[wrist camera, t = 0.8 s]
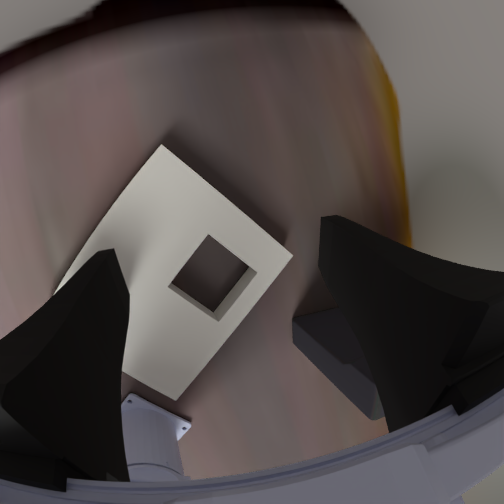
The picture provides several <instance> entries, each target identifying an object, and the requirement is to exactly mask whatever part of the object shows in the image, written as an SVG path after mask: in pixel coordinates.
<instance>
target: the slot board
mask: <svg viewBox="0 0 504 504" xmlns="http://www.w3.org/2000/svg"><path fill="white" fill-rule="evenodd" d="M208 234H209V235H210V236H212V237H213V238H214V239H215V240H217V241H218V242H219V243H220V244H222V245H223V246H224V247H225V248H227V249H228V250H229V251H230V252H232V253H233V254H234V255H235V256H237V257H238V258H239V259H241V260H242V261H243V262H244V263H246V264H247V265H248V266H249V268H248V269H247V270H246V272H245V273H244V274H243V275H242V277H241V278H240V279H239V281H238V282H237V283H236V284H235V286H234V287H233V288H232V289H231V291H230V292H229V293H228V295H227V296H226V297H225V298H224V300H223V301H222V302H221V303H220V305H219V306H218V307H217V309H216V310H215V311H214V312H212V311H211V310H209V309H208V308H206V307H205V306H203V305H202V304H200V303H199V302H198V301H196V300H195V299H193V298H192V297H190V296H189V295H188V294H186V293H185V292H183V291H182V290H181V289H179V288H178V287H176V286H175V285H174V284H172V283H171V282H172V280H173V279H174V278H175V276H176V275H177V274H178V272H179V271H180V270H181V268H182V267H183V266H184V265H185V263H186V262H187V261H188V259H189V258H190V257H191V255H192V254H193V253H194V252H195V250H196V249H197V248H198V246H199V245H200V244H201V243H202V241H203V240H204V239H205V238H206V236H207V235H208ZM112 248H114V249H115V253H116V256H117V259H118V262H119V265H120V268H121V271H122V273H123V276H124V279H125V282H126V285H127V288H128V290H129V293H130V315H129V325H128V331H127V338H126V344H125V351H124V358H123V365H122V371H123V372H125V373H126V374H128V375H130V376H132V377H133V378H135V379H137V380H138V381H140V382H142V383H144V384H146V385H147V386H149V387H151V388H153V389H155V390H156V391H158V392H160V393H162V394H164V395H166V396H168V397H170V398H171V399H173V400H175V401H176V400H177V399H178V398H179V397H180V395H181V394H182V393H183V392H184V391H185V390H186V388H187V387H188V386H189V385H190V384H191V382H192V381H193V380H194V379H195V378H196V376H197V375H198V374H199V373H200V372H201V370H202V369H203V368H204V367H205V366H206V364H207V363H208V362H209V361H210V359H211V358H212V357H213V356H214V355H215V353H216V352H217V351H218V350H219V349H220V347H221V346H222V345H223V344H224V342H225V341H226V340H227V339H228V337H229V336H230V335H231V334H232V333H233V331H234V330H235V329H236V328H237V326H238V325H239V324H240V323H241V321H242V320H243V319H244V318H245V316H246V315H247V314H248V313H249V311H250V310H251V309H252V308H253V306H254V305H255V304H256V303H257V301H258V300H259V299H260V297H261V296H262V295H263V294H264V292H265V291H266V290H267V289H268V287H269V286H270V285H271V283H272V282H273V281H274V280H275V278H276V277H277V276H278V275H279V273H280V272H281V271H282V269H283V268H284V267H285V265H286V264H287V263H288V262H289V260H290V259H291V258H292V256H293V255H292V254H291V253H290V252H289V251H287V250H286V249H285V248H284V247H283V246H282V245H280V244H279V243H278V242H277V241H276V240H275V239H274V238H272V237H271V236H270V235H269V234H268V233H267V232H265V231H264V230H263V229H262V228H261V227H260V226H258V225H257V224H256V223H255V222H254V221H253V220H251V219H250V218H249V217H248V216H247V215H246V214H244V213H243V212H242V211H241V210H240V209H238V208H237V207H236V206H235V205H234V204H233V203H231V202H230V201H229V200H228V199H227V198H225V197H224V196H223V195H222V194H221V193H220V192H218V191H217V190H216V189H215V188H214V187H212V186H211V185H210V184H209V183H208V182H206V181H205V180H204V179H203V178H202V177H200V176H199V175H198V174H197V173H196V172H194V171H193V170H192V169H191V168H190V167H188V166H187V165H186V164H185V163H184V162H182V161H181V160H180V159H179V158H178V157H176V156H175V155H174V154H173V153H171V152H170V151H169V150H168V149H167V148H165V147H164V146H163V145H162V144H161V145H160V147H159V148H158V149H157V150H156V151H155V152H154V154H153V155H152V156H151V157H150V158H149V160H148V161H147V162H146V163H145V164H144V166H143V167H142V168H141V169H140V171H139V172H138V173H137V174H136V175H135V177H134V178H133V179H132V181H131V182H130V183H129V184H128V186H127V187H126V188H125V190H124V191H123V192H122V193H121V195H120V196H119V197H118V199H117V200H116V201H115V203H114V204H113V205H112V207H111V208H110V209H109V211H108V212H107V214H106V215H105V216H104V218H103V219H102V221H101V222H100V223H99V225H98V226H97V228H96V229H95V231H94V232H93V233H92V235H91V236H90V238H89V239H88V241H87V242H86V244H85V245H84V247H83V248H82V250H81V251H80V253H79V254H78V256H77V257H76V259H75V261H74V262H73V264H72V265H71V267H70V268H69V270H68V272H67V273H66V275H65V277H64V278H63V280H62V281H61V283H60V285H59V286H58V288H57V290H56V292H57V291H58V290H59V289H60V288H61V287H62V286H63V285H64V284H65V283H66V282H67V281H68V280H69V279H70V278H71V277H72V276H73V275H74V274H75V273H76V272H77V271H78V270H79V269H80V268H81V267H82V266H83V264H84V263H85V262H86V261H87V260H88V259H90V258H91V257H92V256H93V255H94V254H95V253H96V252H98V251H101V250H107V249H112ZM56 292H55V293H56ZM55 293H54V294H55Z"/></svg>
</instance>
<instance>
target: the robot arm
mask: <svg viewBox="0 0 504 504" xmlns="http://www.w3.org/2000/svg"><path fill="white" fill-rule="evenodd" d="M318 266H319V268H320V271H321V273H322V276H323V278H324V281H325V283H326V285H327V287H328V289H329V291H330V293H331V294H332V296H333V298H334V300H335V301H336V303H337V305H338V306H339V308H340V310H341V311H342V313H343V315H344V316H345V318H346V320H347V322H348V323H349V325H350V327H351V328H352V330H353V332H354V334H355V336H356V338H357V340H358V342H359V344H360V346H361V349H362V351H363V353H364V356H365V358H366V361H367V363H368V366H369V368H370V371H371V374H372V376H373V379H374V382H375V385H376V388H377V391H378V394H379V397H380V400H381V404H382V407H383V410H384V414H385V418H386V422H387V426H388V430H389V433H388V434H386V435H383V436H381V437H378V438H376V439H373V440H370V441H367V442H365V443H362V444H359V445H356V446H353V447H350V448H347V449H344V450H341V451H337V452H334V453H331V454H327V455H324V456H320V457H317V458H313V459H309V460H306V461H302V462H298V463H293V464H289V465H285V466H280V467H276V468H271V469H266V470H261V471H255V472H249V473H243V474H237V475H230V476H223V477H215V478H206V479H195V480H191V478H190V477H189V476H184V471H183V466H182V461H181V456H180V451H179V446H178V440H179V439H180V438H181V437H182V436H183V435H184V434H185V433H186V432H187V431H188V430H189V428H190V427H191V423H190V422H189V421H187V420H185V419H183V418H181V417H179V416H176V415H174V414H172V413H170V412H168V411H166V410H164V409H162V408H160V407H158V406H156V405H154V404H152V403H151V402H149V401H147V400H145V399H143V398H141V397H139V396H137V395H136V394H133V393H130V394H129V395H128V396H127V397H126V398H125V400H124V401H123V402H122V404H121V374H122V365H123V358H124V351H125V344H126V338H127V331H128V325H129V315H130V293H129V290H128V288H127V285H126V282H125V279H124V276H123V273H122V271H121V268H120V265H119V262H118V259H117V256H116V253H115V249H114V248H112V249H107V250H101V251H98V252H96V253H95V254H94V255H93V256H92V257H91V258H90V259H88V260H87V261H86V262H85V263H84V264H83V266H82V267H81V268H80V269H79V270H78V271H77V272H76V273H75V274H74V275H73V276H72V277H71V278H70V279H69V280H68V281H67V282H66V283H65V284H64V285H63V286H62V287H61V288H60V289H59V290H58V291H57V292H56V293H55V294H54V295H53V296H52V297H51V298H50V299H49V300H48V301H47V302H46V303H45V304H44V305H43V306H42V307H41V308H40V309H39V310H37V311H36V312H35V313H34V314H33V315H32V316H30V317H29V318H28V319H27V320H26V321H25V322H23V323H22V324H21V325H19V326H18V327H17V328H15V329H14V330H13V331H11V332H10V333H9V334H7V335H6V336H5V337H3V338H2V339H1V340H0V504H465V503H464V501H463V499H462V496H461V495H462V494H463V493H465V492H466V491H468V490H469V489H471V488H472V487H473V486H475V485H476V484H478V483H479V482H480V481H482V480H483V479H485V478H486V477H487V476H489V475H490V474H491V473H492V472H494V471H495V470H496V469H497V468H499V467H500V466H501V465H503V464H504V272H499V271H491V270H485V269H480V268H475V267H470V266H466V265H461V264H457V263H453V262H450V261H447V260H442V259H439V258H437V257H433V256H431V255H428V254H425V253H422V252H419V251H416V250H414V249H412V248H409V247H407V246H404V245H402V244H400V243H398V242H395V241H393V240H391V239H389V238H386V237H384V236H382V235H380V234H378V233H376V232H374V231H372V230H370V229H368V228H366V227H364V226H362V225H359V224H357V223H355V222H353V221H351V220H349V219H346V218H344V217H341V216H338V215H333V216H326V217H321V227H320V245H319V261H318ZM128 400H131V402H130V401H128ZM183 427H186V428H183Z"/></svg>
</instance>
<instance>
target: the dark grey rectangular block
mask: <svg viewBox="0 0 504 504" xmlns="http://www.w3.org/2000/svg"><path fill="white" fill-rule="evenodd" d="M292 326H293V343H294V344H295V345H296V346H297V348H298V349H299V350H300V351H301V352H302V353H303V354H304V355H305V356H306V357H307V358H308V359H309V360H310V361H311V362H312V363H313V364H314V365H315V366H316V367H317V368H318V369H319V370H320V371H321V372H322V373H323V374H324V375H325V376H326V377H327V378H328V379H329V380H330V381H331V382H332V383H333V384H334V385H335V386H336V387H337V388H338V389H339V390H340V391H341V392H342V393H343V394H344V395H345V396H346V397H347V398H348V399H349V400H350V401H351V402H352V403H353V404H354V405H356V406H357V407H358V408H359V409H360V410H361V411H362V412H363V413H364V414H365V415H366V416H367V417H368V418H369V419H370V420H378V419H380V418H382V417H384V416H385V414H384V410H383V407H382V404H381V400H380V397H379V394H378V391H377V388H376V385H375V382H374V379H373V376H372V374H371V371H370V368H369V366H368V363H367V361H366V358H365V356H364V353H363V351H362V349H361V346H360V344H359V342H358V340H357V338H356V336H355V334H354V332H353V330H352V328H351V327H350V325H349V323H348V322H347V320H346V318H345V316H344V315H343V313H342V311H341V310H340V308H339V307H338V308H334V309H330V310H326V311H322V312H317V313H313V314H309V315H304V316H300V317H296V318H293V320H292Z"/></svg>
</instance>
